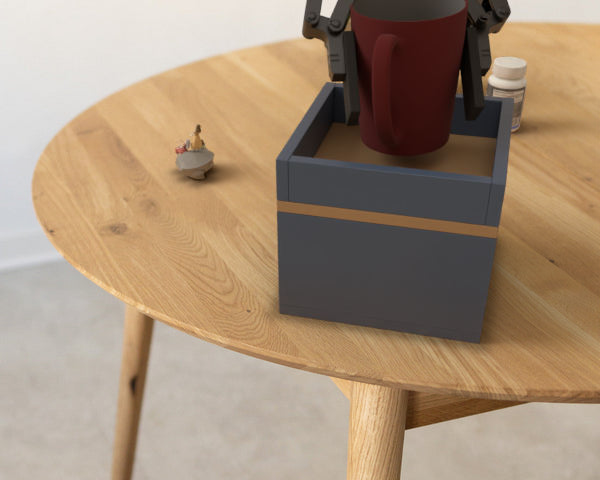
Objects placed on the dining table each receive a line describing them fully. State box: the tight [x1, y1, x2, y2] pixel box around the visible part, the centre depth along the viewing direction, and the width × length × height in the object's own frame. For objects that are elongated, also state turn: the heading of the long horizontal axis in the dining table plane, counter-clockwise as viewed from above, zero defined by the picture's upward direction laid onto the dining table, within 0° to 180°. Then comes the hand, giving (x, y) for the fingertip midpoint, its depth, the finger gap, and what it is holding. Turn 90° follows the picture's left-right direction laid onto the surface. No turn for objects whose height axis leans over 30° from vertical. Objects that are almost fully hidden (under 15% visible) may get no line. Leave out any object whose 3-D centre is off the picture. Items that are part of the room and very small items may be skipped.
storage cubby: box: [275, 81, 514, 345], centre depth 68 cm, size 17×17×14 cm
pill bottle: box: [485, 55, 528, 133], centre depth 97 cm, size 5×5×8 cm
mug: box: [350, 0, 468, 156], centre depth 61 cm, size 12×9×11 cm
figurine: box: [174, 123, 215, 181], centre depth 87 cm, size 5×4×6 cm
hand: (414, 116), depth 60 cm, fingers closed on mug, 9 cm apart
